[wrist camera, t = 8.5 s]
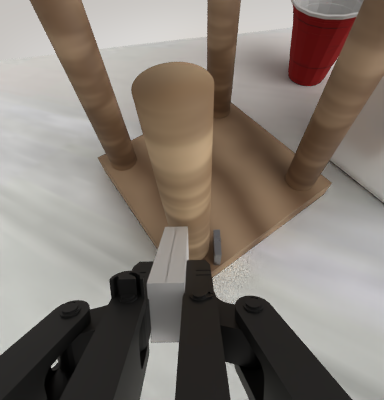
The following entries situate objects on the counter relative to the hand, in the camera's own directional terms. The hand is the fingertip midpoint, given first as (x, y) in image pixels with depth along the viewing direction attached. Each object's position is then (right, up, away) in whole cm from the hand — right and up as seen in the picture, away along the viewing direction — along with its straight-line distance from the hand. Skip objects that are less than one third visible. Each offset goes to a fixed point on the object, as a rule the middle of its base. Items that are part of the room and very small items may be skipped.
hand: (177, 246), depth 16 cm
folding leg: (+1, -1, +7) cm, 7 cm away
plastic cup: (+20, +24, +27) cm, 41 cm away
